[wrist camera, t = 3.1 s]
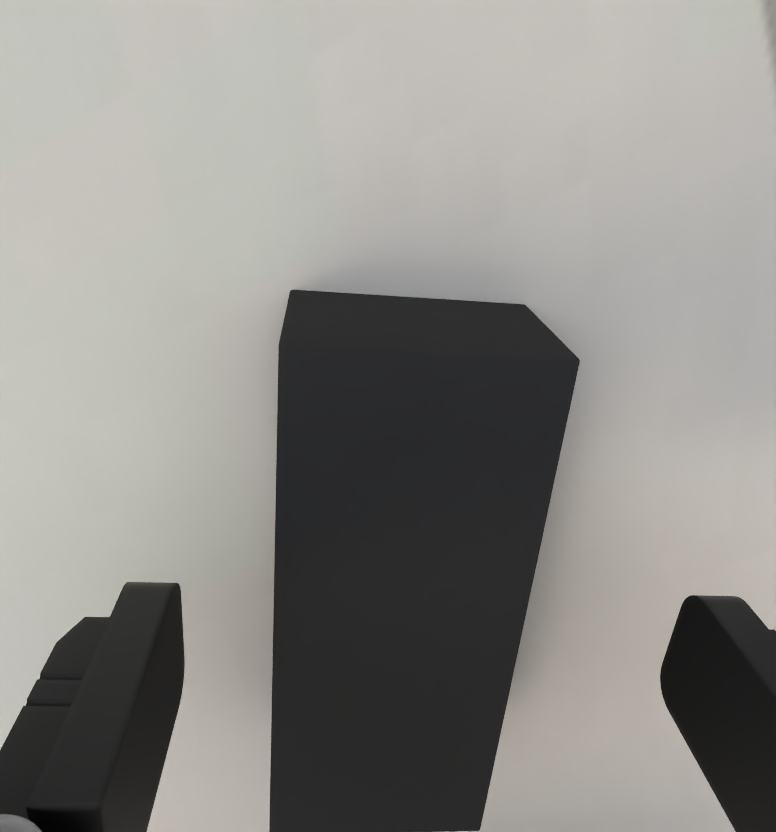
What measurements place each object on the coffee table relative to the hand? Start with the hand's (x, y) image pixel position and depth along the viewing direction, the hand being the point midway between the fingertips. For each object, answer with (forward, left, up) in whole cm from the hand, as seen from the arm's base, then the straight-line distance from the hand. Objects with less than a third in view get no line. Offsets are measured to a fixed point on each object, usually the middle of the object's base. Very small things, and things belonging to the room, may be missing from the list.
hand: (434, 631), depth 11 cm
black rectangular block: (0, -2, -6) cm, 6 cm away
